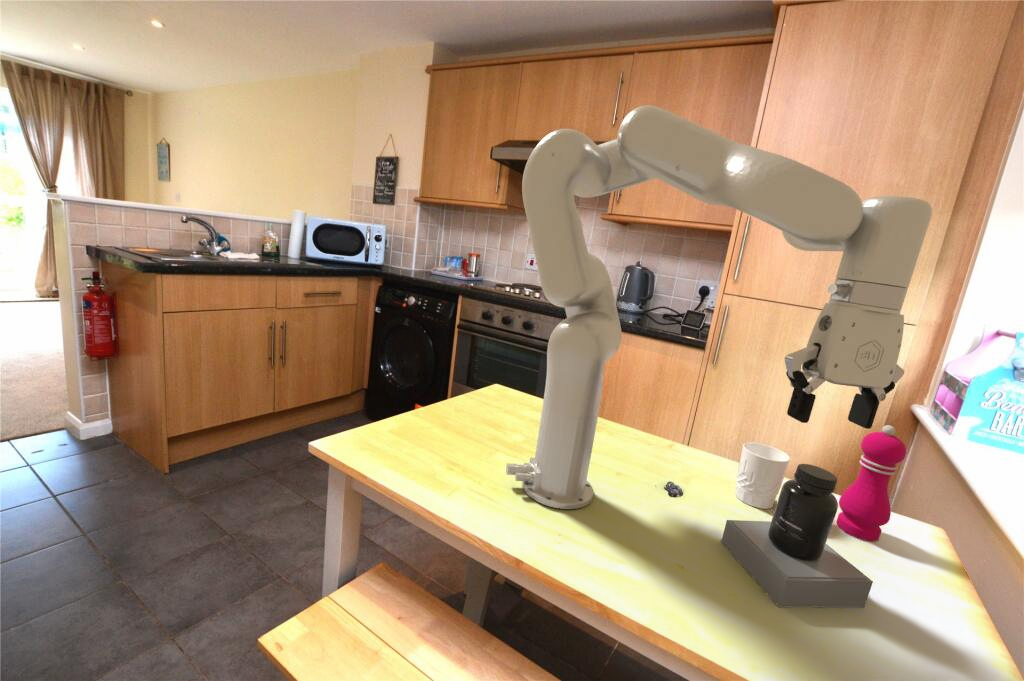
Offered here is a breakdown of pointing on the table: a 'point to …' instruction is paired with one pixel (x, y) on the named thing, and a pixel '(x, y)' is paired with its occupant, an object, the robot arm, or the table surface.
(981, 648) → the table surface
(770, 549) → the slate riser
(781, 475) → the white cup
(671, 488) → the blueberries
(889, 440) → the pepper mill
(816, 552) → the supplement bottle
